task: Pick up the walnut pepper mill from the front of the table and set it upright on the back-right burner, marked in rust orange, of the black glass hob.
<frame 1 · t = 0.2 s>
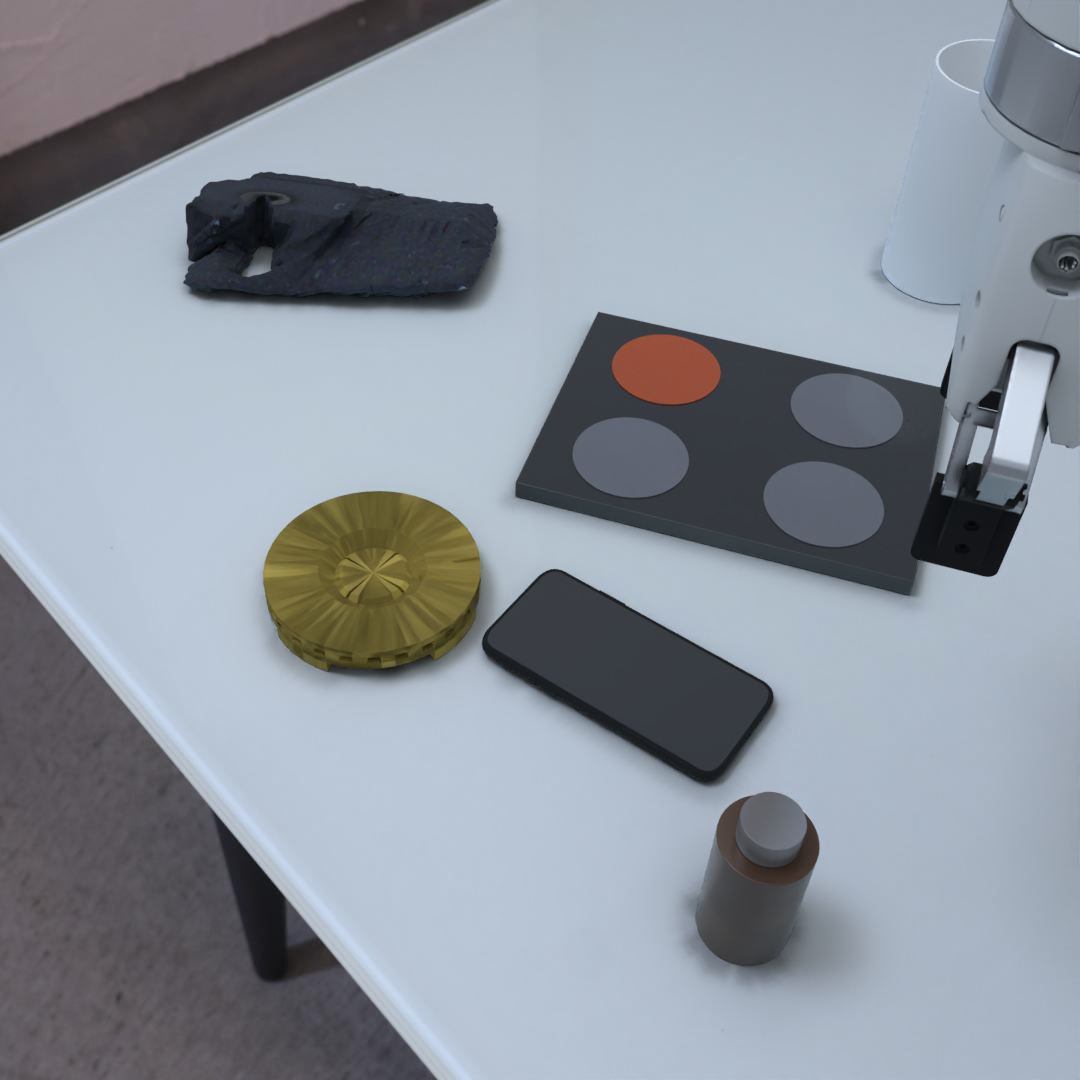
hand: (965, 477, 52), 21 cm above the table, tool pointing down, fingers open, 9 cm apart
gold round disc: (375, 595, 74), on the table
pepper mill: (742, 921, 61), on the table
cup: (936, 273, 98), on the table
smartphone: (625, 676, 71), on the table
dark slate chunk: (345, 253, 97), on the table
hob: (738, 447, 84), on the table
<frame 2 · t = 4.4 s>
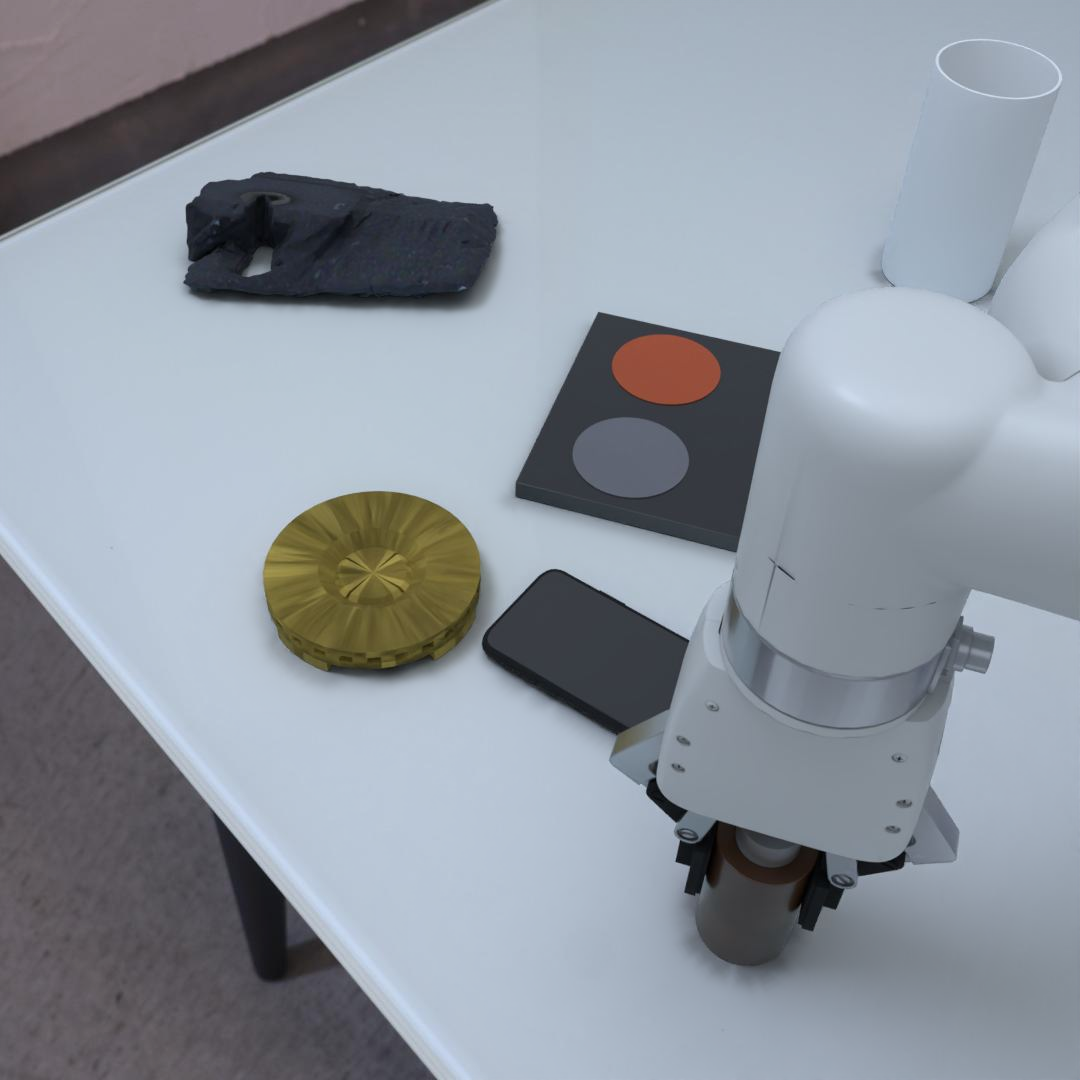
hand: (754, 881, 59), 4 cm above the table, tool pointing down, fingers closed on pepper mill, 4 cm apart
pepper mill: (742, 921, 61), on the table, touching gripper
everything else where it was.
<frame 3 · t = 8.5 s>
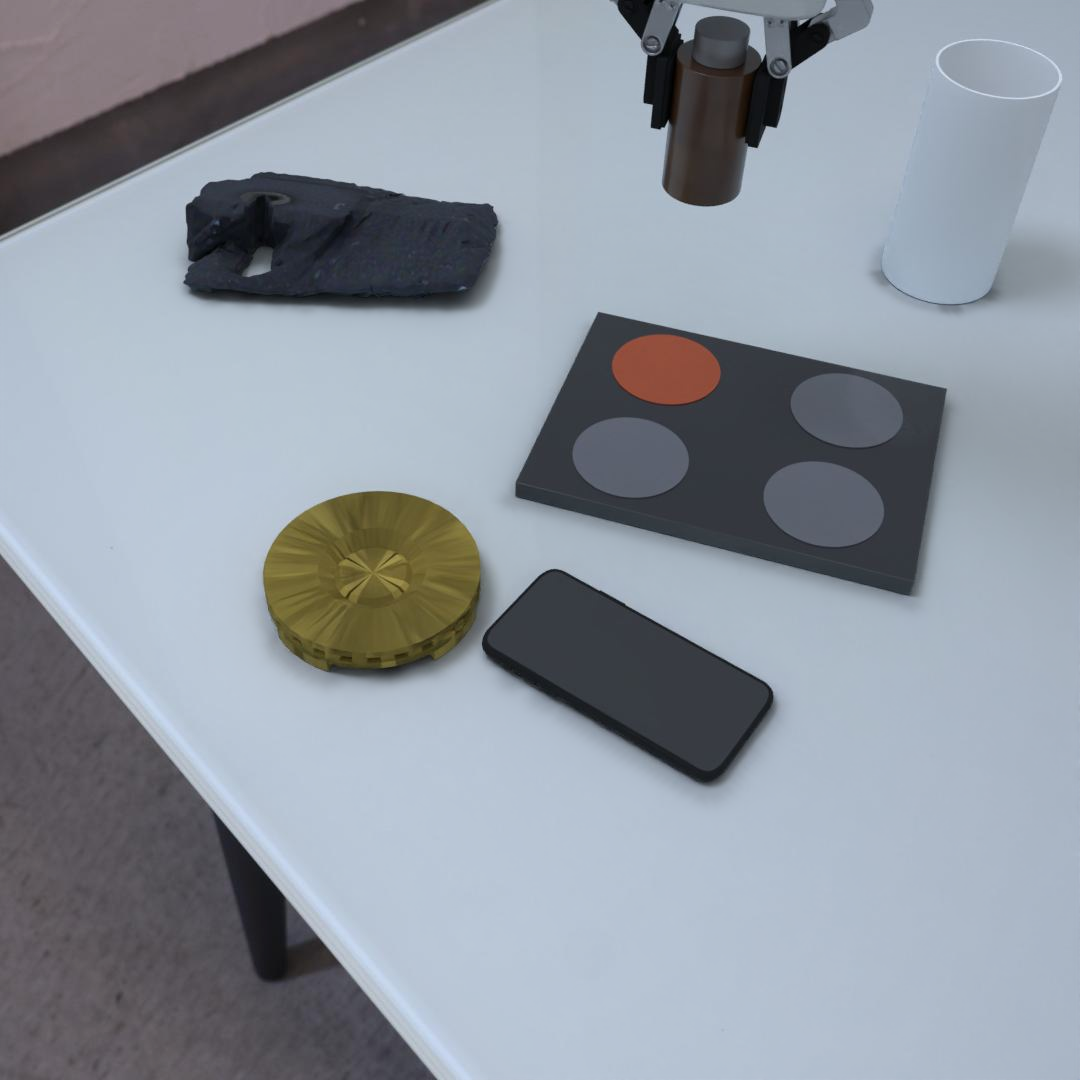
hand: (709, 122, 70), 21 cm above the table, tool pointing down, fingers closed on pepper mill, 4 cm apart
pepper mill: (701, 184, 73), point 17 cm above the table, touching gripper
everything else where it was.
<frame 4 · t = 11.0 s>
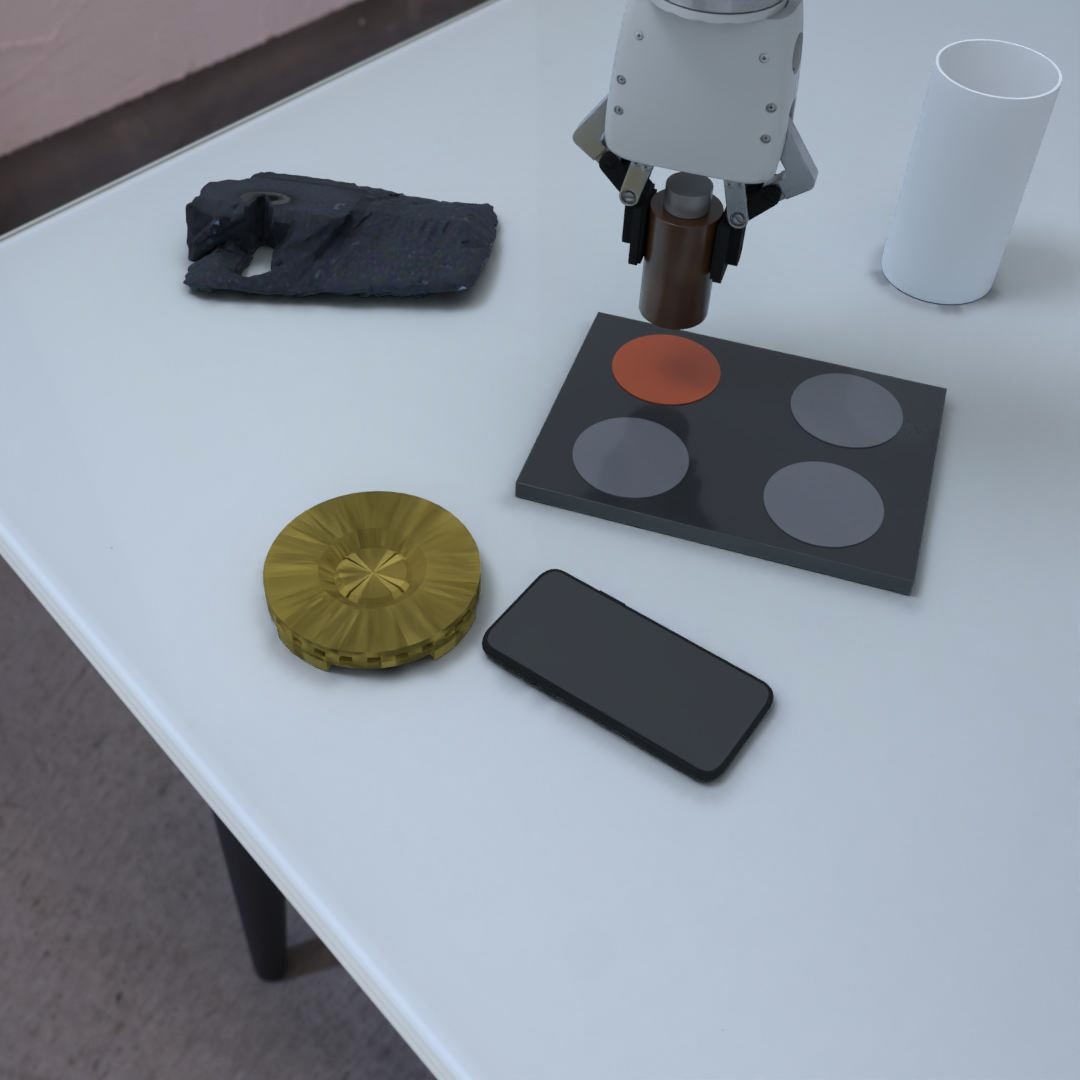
hand: (679, 258, 80), 10 cm above the table, tool pointing down, fingers closed on pepper mill, 4 cm apart
pepper mill: (673, 308, 83), point 6 cm above the table, touching gripper
everything else where it was.
when the fingers open (5 cm above the table, at t = 12.6 s): pepper mill stays where it is, resting on hob.
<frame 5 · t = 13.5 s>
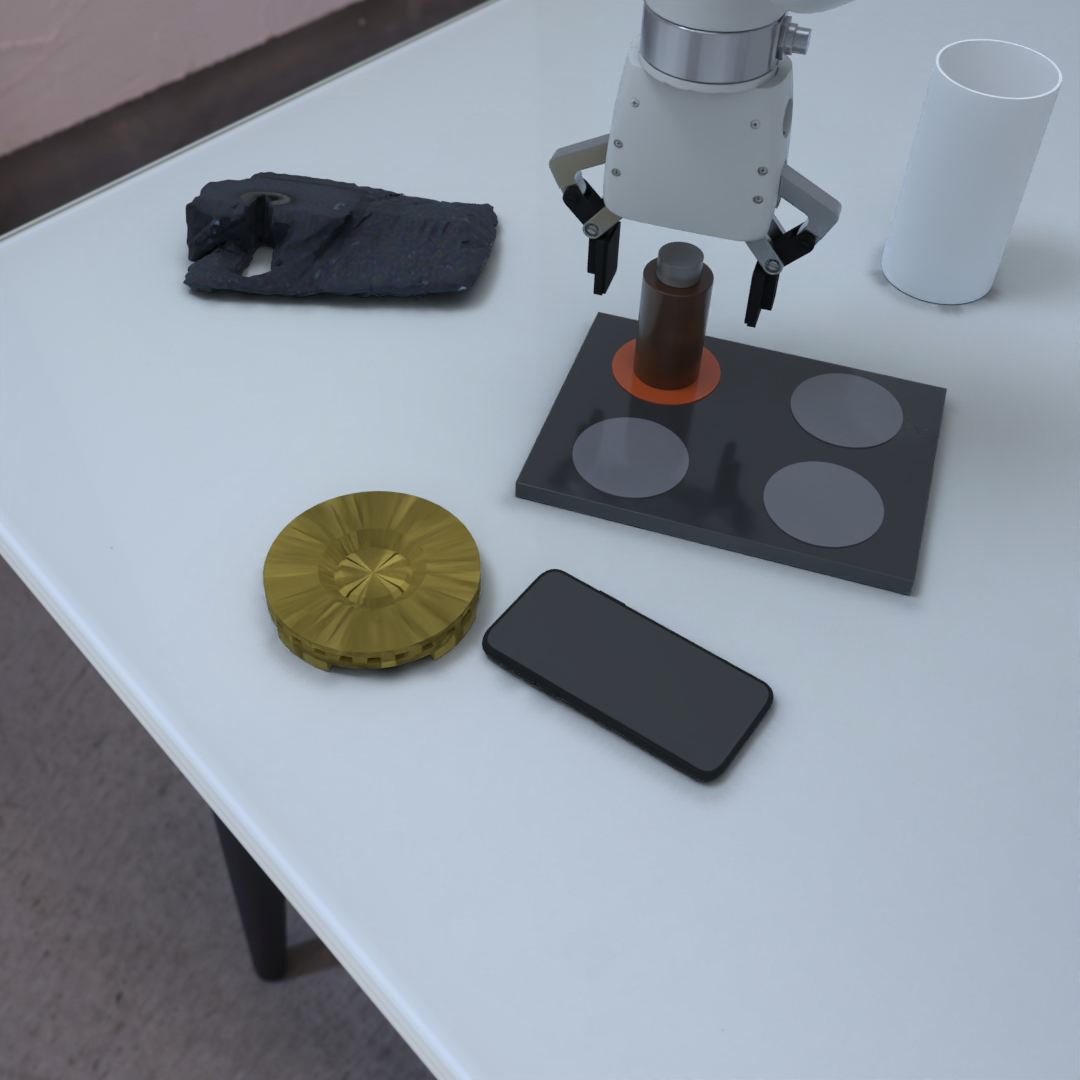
hand: (678, 298, 82), 7 cm above the table, tool pointing down, fingers open, 9 cm apart
pepper mill: (666, 368, 87), point 1 cm above the table, touching hob
everything else where it was.
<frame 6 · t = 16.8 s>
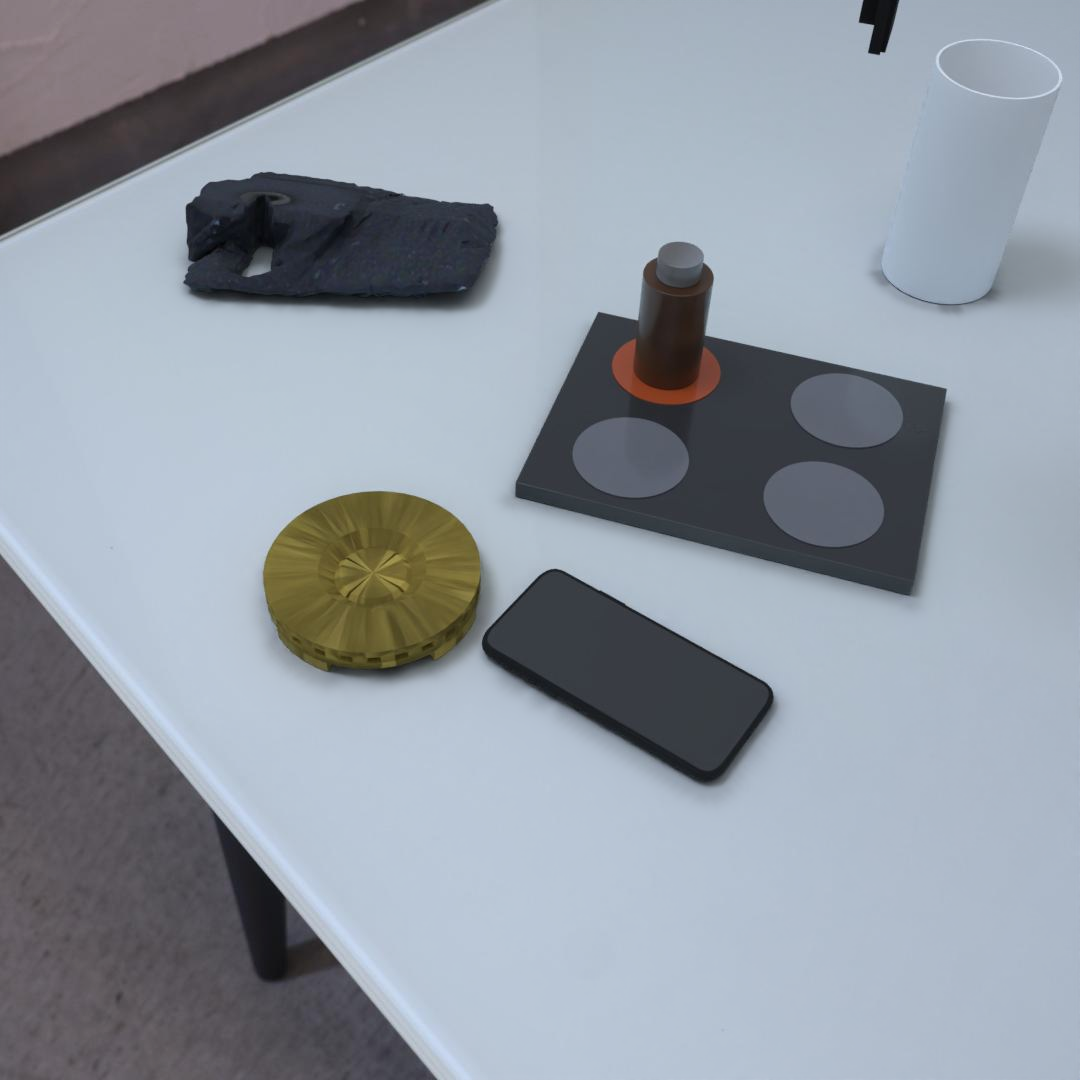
hand: (992, 60, 56), 30 cm above the table, tool pointing down, fingers open, 9 cm apart
nothing on the table moved.
at the end: pepper mill 0.1 cm from the target spot on the hob, point 1.3 cm above the hob's base; pepper mill tilted 0°; the gripper is holding nothing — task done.
